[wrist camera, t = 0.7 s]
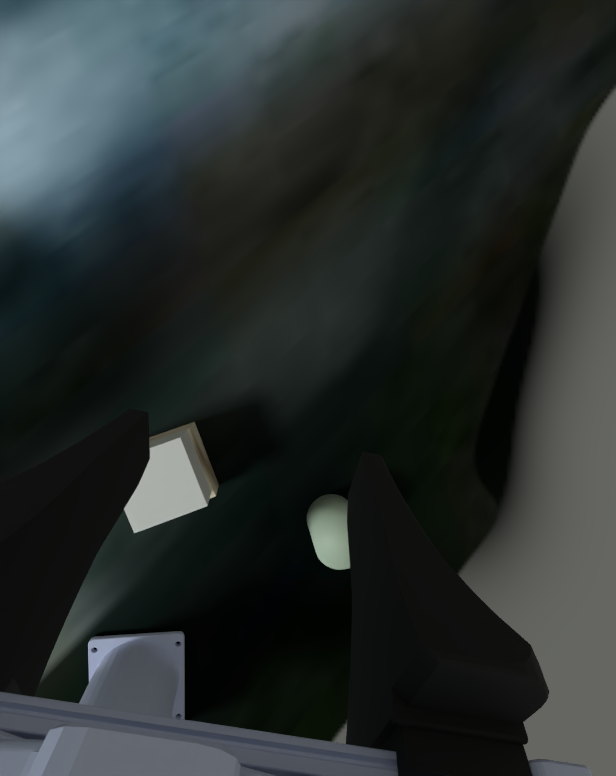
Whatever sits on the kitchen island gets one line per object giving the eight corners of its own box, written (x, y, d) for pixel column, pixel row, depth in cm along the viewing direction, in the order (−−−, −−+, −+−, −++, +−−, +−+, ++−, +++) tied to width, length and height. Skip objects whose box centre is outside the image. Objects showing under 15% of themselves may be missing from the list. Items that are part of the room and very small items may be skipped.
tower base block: (219, 483, 35) (215, 496, 33) (153, 507, 35) (143, 522, 32) (195, 421, 35) (189, 428, 32) (127, 444, 34) (115, 454, 31)
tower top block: (211, 491, 32) (207, 505, 30) (145, 515, 32) (134, 533, 29) (187, 428, 32) (180, 437, 29) (119, 452, 31) (104, 464, 28)
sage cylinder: (352, 539, 37) (367, 568, 32) (306, 540, 37) (314, 570, 32) (354, 493, 37) (370, 515, 32) (307, 494, 36) (315, 517, 31)
